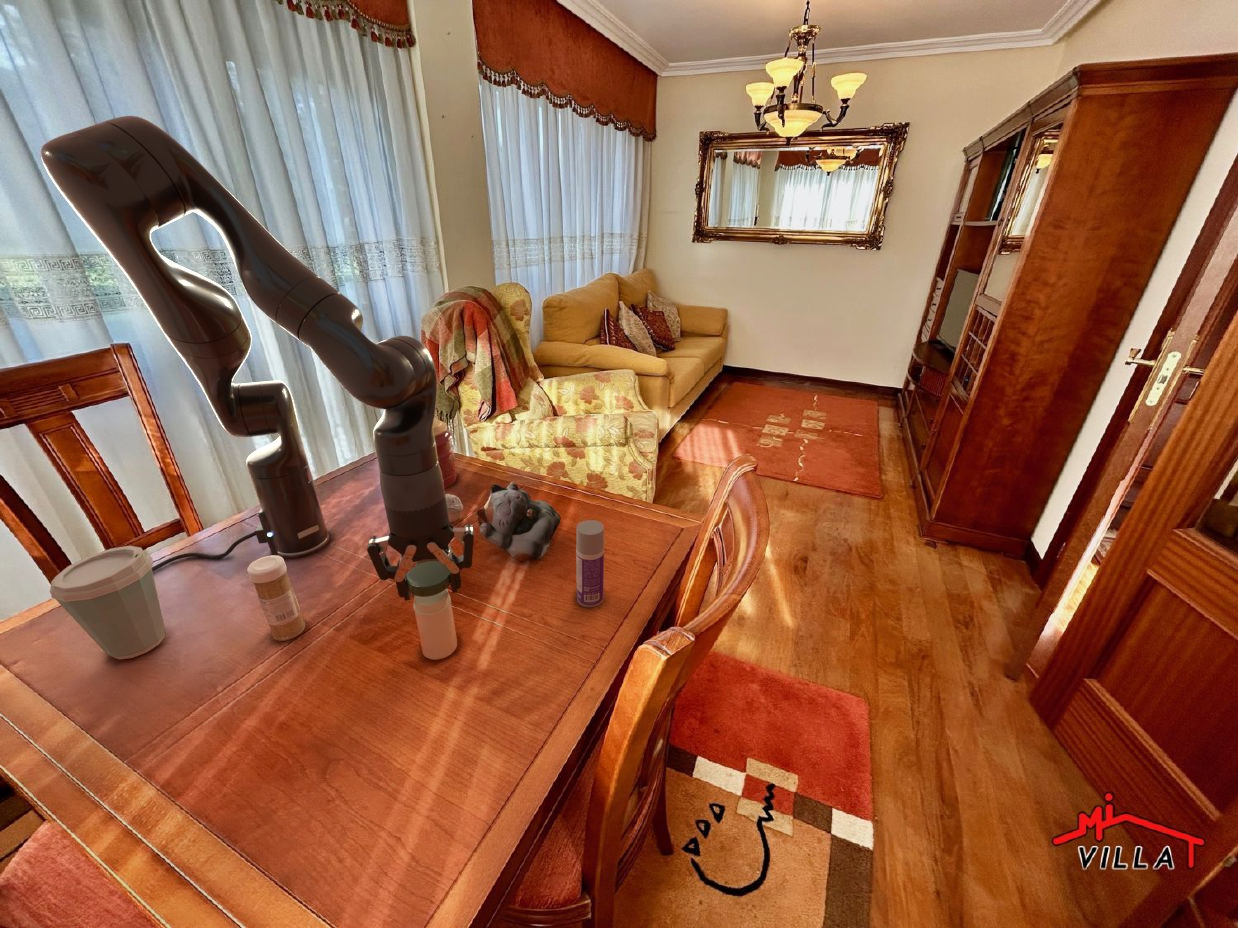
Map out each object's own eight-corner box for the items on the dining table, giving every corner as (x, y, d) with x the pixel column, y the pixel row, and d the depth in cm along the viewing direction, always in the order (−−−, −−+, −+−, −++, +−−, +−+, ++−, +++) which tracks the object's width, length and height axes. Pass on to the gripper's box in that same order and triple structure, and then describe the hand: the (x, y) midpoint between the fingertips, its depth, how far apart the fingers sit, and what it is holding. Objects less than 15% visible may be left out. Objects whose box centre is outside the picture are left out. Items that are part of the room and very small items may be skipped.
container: (607, 594, 89) (609, 523, 83) (595, 610, 85) (596, 538, 79) (584, 586, 91) (584, 516, 84) (571, 602, 87) (570, 530, 81)
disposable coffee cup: (79, 681, 70) (25, 598, 63) (106, 629, 78) (61, 552, 72) (175, 655, 74) (134, 575, 68) (190, 609, 83) (156, 534, 76)
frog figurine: (434, 531, 105) (429, 503, 102) (436, 514, 111) (432, 486, 108) (464, 528, 106) (460, 500, 103) (465, 511, 112) (461, 484, 109)
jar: (421, 662, 75) (410, 609, 70) (423, 637, 79) (413, 585, 74) (457, 655, 76) (449, 603, 71) (457, 631, 80) (449, 580, 76)
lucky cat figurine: (537, 570, 94) (495, 518, 88) (494, 570, 101) (452, 522, 95) (571, 514, 104) (536, 464, 98) (531, 518, 111) (495, 471, 105)
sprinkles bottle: (306, 617, 82) (284, 550, 76) (304, 636, 78) (281, 568, 72) (274, 626, 80) (248, 558, 74) (270, 646, 76) (243, 576, 70)
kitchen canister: (391, 490, 120) (377, 422, 112) (419, 466, 131) (409, 403, 123) (442, 496, 118) (432, 427, 110) (466, 471, 129) (458, 407, 121)
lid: (451, 567, 75) (450, 558, 75) (451, 593, 70) (449, 583, 70) (409, 573, 74) (407, 564, 73) (405, 600, 69) (404, 590, 68)
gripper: (348, 515, 60) (374, 620, 68) (472, 501, 64) (483, 602, 72) (359, 486, 67) (381, 584, 74) (470, 475, 71) (481, 569, 78)
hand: (431, 592), depth 73 cm, fingers closed on lid, 6 cm apart
